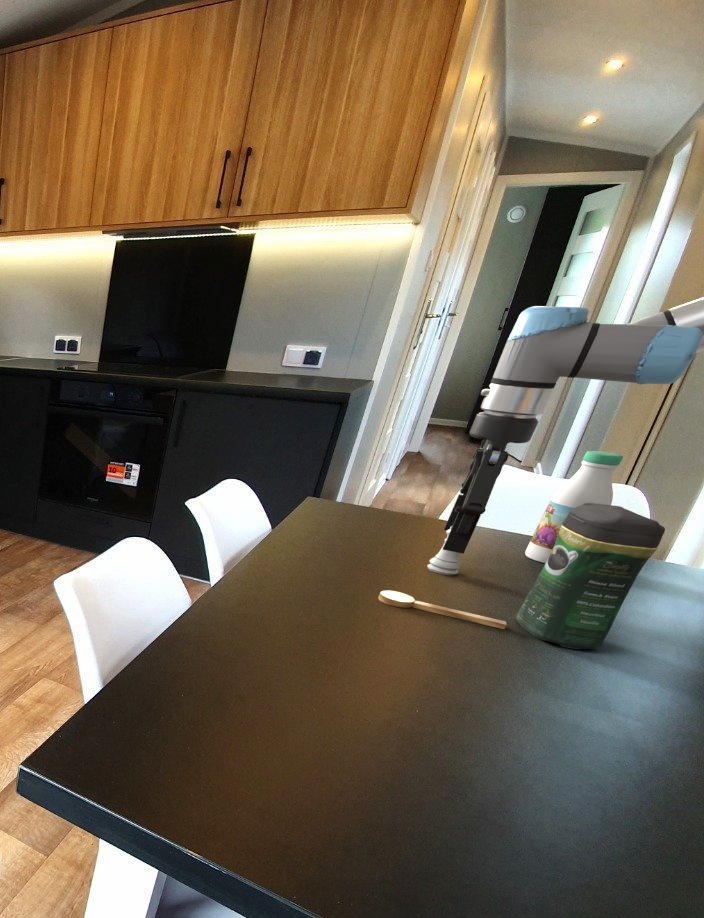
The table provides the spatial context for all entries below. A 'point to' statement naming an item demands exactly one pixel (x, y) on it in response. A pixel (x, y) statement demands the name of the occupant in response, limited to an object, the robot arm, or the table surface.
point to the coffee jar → (588, 575)
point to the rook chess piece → (445, 561)
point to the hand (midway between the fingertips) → (453, 541)
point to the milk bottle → (574, 499)
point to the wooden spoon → (436, 609)
